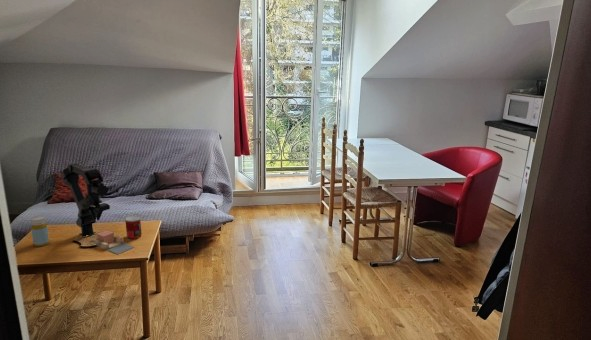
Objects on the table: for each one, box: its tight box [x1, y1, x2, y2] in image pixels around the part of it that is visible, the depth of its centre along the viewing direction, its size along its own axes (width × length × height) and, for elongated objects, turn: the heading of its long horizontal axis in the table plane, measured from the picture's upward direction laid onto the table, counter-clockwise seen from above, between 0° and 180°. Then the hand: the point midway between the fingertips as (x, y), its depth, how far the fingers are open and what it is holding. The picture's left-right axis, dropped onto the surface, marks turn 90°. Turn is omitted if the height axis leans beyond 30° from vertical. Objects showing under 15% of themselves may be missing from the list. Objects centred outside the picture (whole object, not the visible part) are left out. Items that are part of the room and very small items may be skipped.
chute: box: [92, 234, 125, 251], centre depth 221 cm, size 12×10×3 cm
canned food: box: [125, 215, 142, 240], centre depth 230 cm, size 8×8×11 cm
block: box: [96, 230, 115, 244], centre depth 221 cm, size 6×6×5 cm
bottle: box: [30, 215, 50, 248], centre depth 218 cm, size 7×7×15 cm
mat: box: [107, 242, 135, 255], centre depth 216 cm, size 8×10×1 cm
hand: (96, 219), depth 223 cm, fingers open, 3 cm apart
